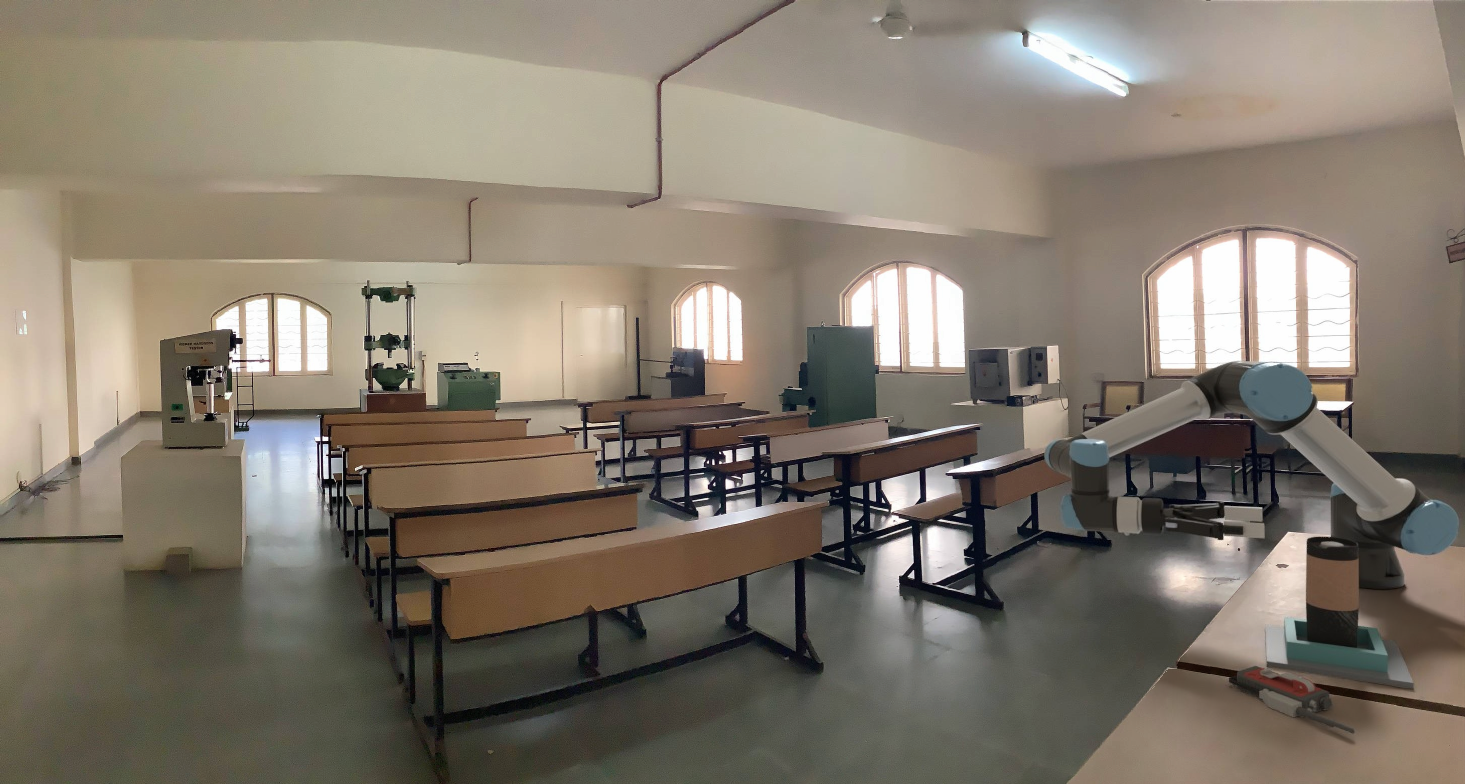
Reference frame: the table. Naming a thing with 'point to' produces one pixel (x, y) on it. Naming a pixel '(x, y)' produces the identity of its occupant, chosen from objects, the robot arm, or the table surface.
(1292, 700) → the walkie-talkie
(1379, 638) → the mug dock
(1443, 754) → the table surface
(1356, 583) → the travel mug
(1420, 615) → the table surface
